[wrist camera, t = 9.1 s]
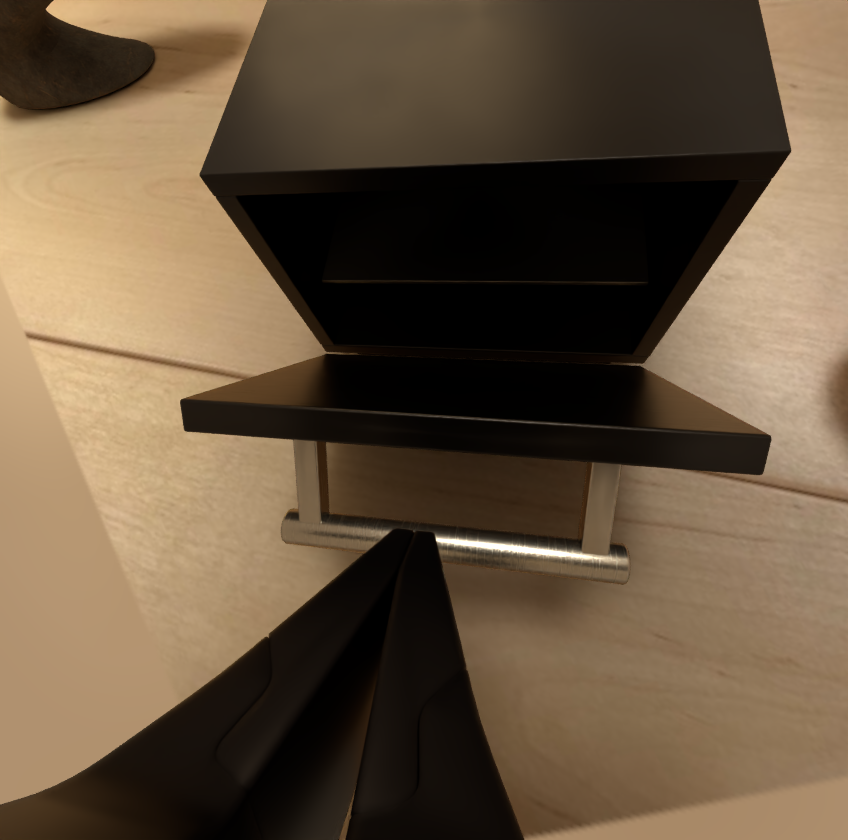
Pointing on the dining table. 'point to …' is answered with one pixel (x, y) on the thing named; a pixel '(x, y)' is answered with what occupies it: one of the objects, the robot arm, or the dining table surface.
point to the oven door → (481, 442)
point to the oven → (497, 167)
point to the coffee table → (61, 58)
